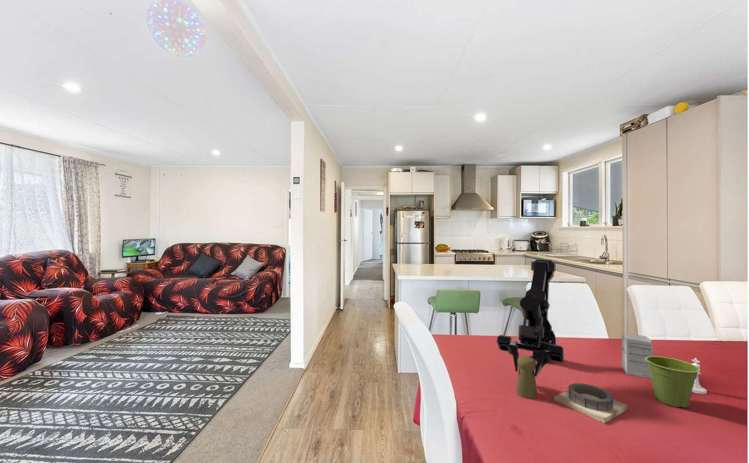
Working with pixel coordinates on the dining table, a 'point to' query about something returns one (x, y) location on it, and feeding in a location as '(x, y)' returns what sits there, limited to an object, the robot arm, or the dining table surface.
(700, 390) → the chess piece
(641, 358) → the supplement box
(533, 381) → the cork
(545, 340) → the robot arm
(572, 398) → the collar board
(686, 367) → the plant pot
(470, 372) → the dining table surface
